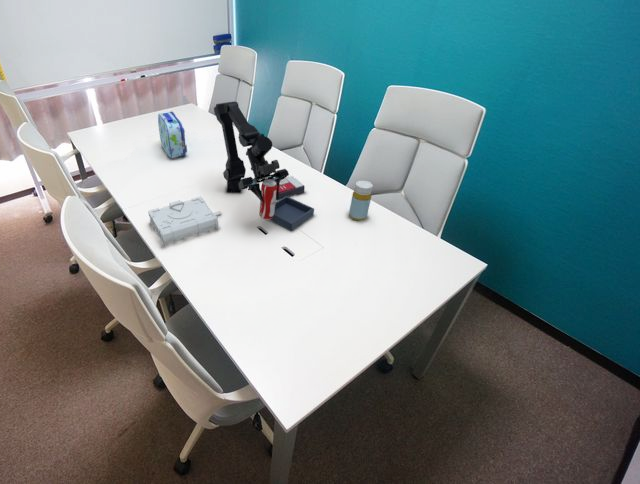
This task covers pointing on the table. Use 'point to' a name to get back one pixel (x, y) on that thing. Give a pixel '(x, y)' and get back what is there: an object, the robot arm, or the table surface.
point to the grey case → (183, 220)
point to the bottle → (360, 200)
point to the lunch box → (172, 135)
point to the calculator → (290, 187)
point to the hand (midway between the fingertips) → (270, 200)
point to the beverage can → (268, 199)
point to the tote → (291, 213)
